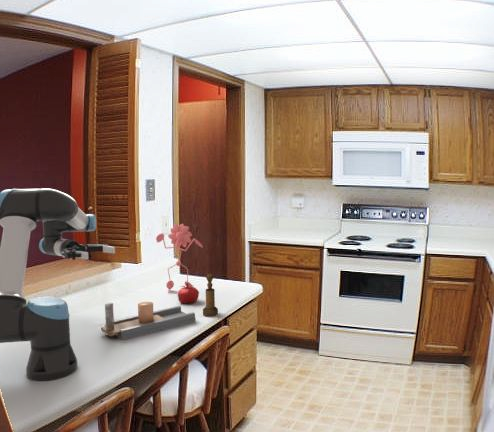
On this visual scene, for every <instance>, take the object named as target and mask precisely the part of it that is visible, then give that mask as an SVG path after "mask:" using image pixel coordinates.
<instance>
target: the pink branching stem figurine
mask: <svg viewBox="0 0 494 432" xmlns="http://www.w3.org/2000/svg"><path fill="white" fill-rule="evenodd" d="M172 227H173V228H170V233H169V234H168V235H167V237H168V238H169V239H170V240H171V241H170V242H171V244H172V245H175V246H168V247H167V246H166V243H165V242H166V241H165V234H164V233H163V232H162V233H159V234H157V236H156V238H155V240H156V243H160V242H162V241H163V245H164V248H165V249H166V250H167V249H177V250H178V251H179V252H180V253H179V257H178V260H177V261H176V262H175V264H174V265H172V266H170V267H168V269H167V273H168V277H169V279H168V281H167V282H166V289H168V294H170V291H171V289H173V288H174V286H175V283H174V281H173V280H171V275H170V269H172V268H173V267H175V266H177V267H181V266H182V267H184V268H185V269H186V270H187V277H186V281H184V286H186V287H187V285H186V283H188V287H190V286H191V287H193V288H194V286H192V285H193V284H192V283H191V282H189V270H188V268H187V267H186V265H184V264H182V262H181V256H182V251H183V252H187V250H189V247H190V246H191V245H192V244H193V242H194V243H195V244H196V245H197V246H199V247H200V248H202V249H204V247H203V244H202V243H201V242H200V241H199V239H196V238H195V237H194V238H193V239H191V237H192V236H193V234H192V232H191V231H189V230H190V227H189V226H187V225H185V224H184V223H181V224H180V225H178V223H175V224H173V226H172ZM181 246H182V247H184V248H185V249H183V248H181Z"/></svg>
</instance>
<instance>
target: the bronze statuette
mask: <svg viewBox="0 0 494 432" xmlns="http://www.w3.org/2000/svg"><path fill="white" fill-rule="evenodd" d="M205 277H206V280H207V284H206V285H207V288H206V289H205V307H203V309H202V316H204V317H206V318H207V317H209V318H210V317H216V316H218V315H219V308H218V307H216V304H215V302H216V300H215V288H213V283H212V281H213V279H214V275H213V274H212V273H208V274H206V276H205Z"/></svg>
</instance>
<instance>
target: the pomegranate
mask: <svg viewBox="0 0 494 432" xmlns="http://www.w3.org/2000/svg"><path fill="white" fill-rule="evenodd" d="M186 285H187V287H185V286H186ZM186 285H180V287H182V288H180V289H179V290H178V292H177V298H178V299H177V300H178V302H179V303H181V304H193V303H196V302H197V301H198V300H199V296H200V292H199V290H198V289H197V288H196V287H194V286H195V285H193V284H192V286H193V287H191V286H190V287H188V283H186Z"/></svg>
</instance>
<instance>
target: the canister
mask: <svg viewBox="0 0 494 432" xmlns="http://www.w3.org/2000/svg"><path fill="white" fill-rule="evenodd" d="M153 312H154V302H151V301H142V302H139V303H137V313H138V314H137V315H138V321H139V323H150V322H153V321H154V315H153Z"/></svg>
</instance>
